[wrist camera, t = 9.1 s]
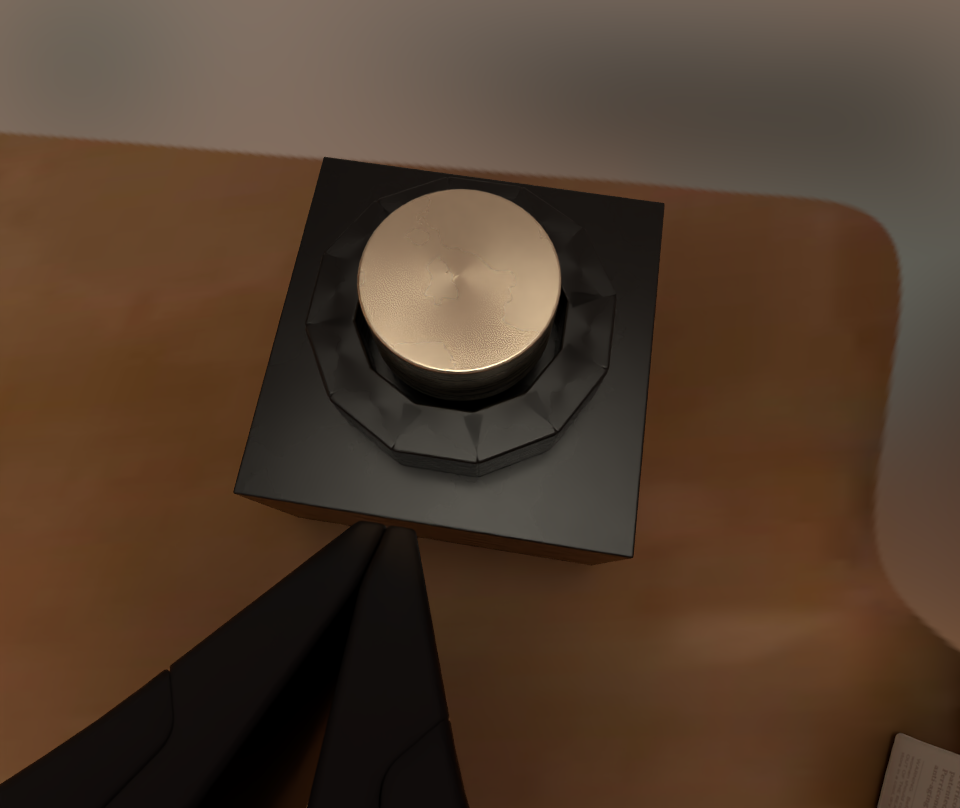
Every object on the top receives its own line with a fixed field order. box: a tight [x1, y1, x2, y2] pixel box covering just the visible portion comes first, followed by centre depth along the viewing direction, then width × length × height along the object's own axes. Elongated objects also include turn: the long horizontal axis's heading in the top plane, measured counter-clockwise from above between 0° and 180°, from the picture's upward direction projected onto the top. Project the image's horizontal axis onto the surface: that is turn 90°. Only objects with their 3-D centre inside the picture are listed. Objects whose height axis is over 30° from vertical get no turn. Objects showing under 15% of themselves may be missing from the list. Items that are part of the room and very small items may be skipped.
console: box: [234, 157, 665, 565], centre depth 18 cm, size 10×10×8 cm
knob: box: [357, 189, 562, 401], centre depth 14 cm, size 4×4×2 cm
